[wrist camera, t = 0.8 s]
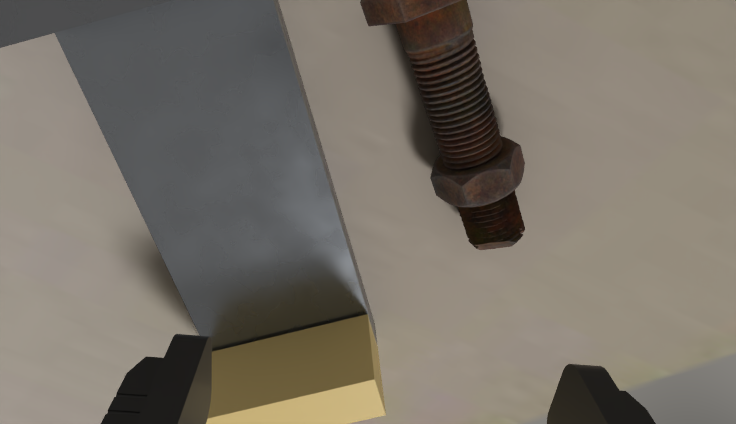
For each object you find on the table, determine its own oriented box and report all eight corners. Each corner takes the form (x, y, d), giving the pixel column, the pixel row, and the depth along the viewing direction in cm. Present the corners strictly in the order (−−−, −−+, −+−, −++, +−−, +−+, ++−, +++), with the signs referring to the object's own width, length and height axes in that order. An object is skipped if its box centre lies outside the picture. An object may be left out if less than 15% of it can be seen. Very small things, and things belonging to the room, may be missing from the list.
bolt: (469, 212, 35) (392, -31, 28) (551, 206, 32) (487, -64, 25) (441, 271, 30) (342, 2, 24) (532, 270, 28) (451, -34, 21)
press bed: (252, -85, 25) (224, -99, 18) (374, 324, 35) (385, 412, 29) (47, -28, 26) (-55, -21, 19) (227, 359, 36) (203, 454, 29)
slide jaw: (367, 314, 32) (374, 379, 27) (377, 346, 33) (385, 414, 28) (206, 353, 33) (184, 424, 28) (221, 383, 34) (202, 457, 29)
